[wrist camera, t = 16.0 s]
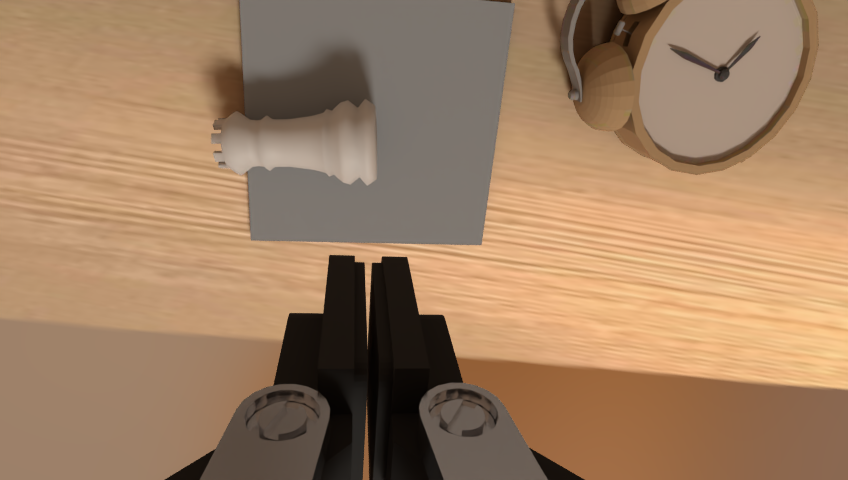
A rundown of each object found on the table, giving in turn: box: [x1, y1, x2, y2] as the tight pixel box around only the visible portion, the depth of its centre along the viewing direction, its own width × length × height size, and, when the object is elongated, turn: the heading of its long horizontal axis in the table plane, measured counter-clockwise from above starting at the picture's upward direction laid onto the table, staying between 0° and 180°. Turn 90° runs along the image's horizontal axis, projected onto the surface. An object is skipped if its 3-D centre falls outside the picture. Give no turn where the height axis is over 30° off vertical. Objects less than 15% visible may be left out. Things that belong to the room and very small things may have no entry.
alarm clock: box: [560, 0, 819, 175], centre depth 30 cm, size 11×5×15 cm
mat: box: [240, 0, 515, 245], centre depth 30 cm, size 14×14×1 cm
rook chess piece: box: [211, 99, 377, 186], centre depth 28 cm, size 4×4×8 cm
